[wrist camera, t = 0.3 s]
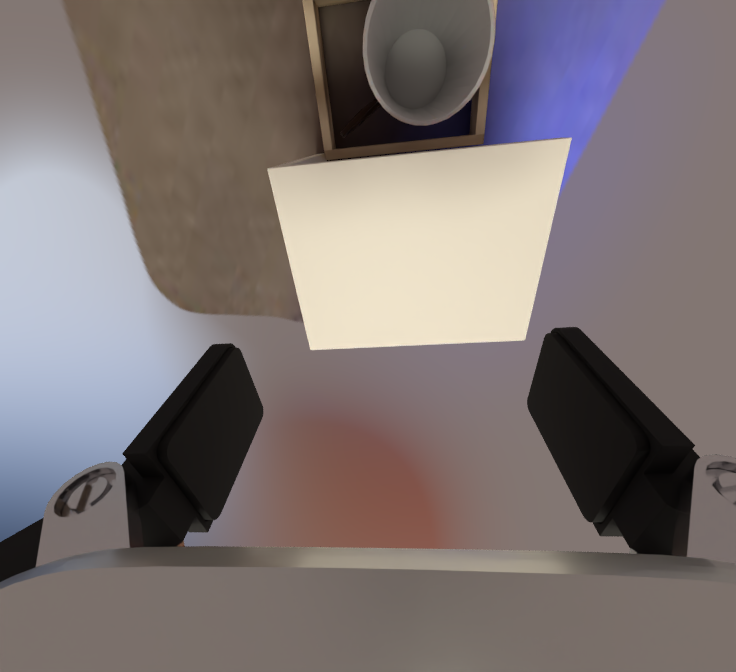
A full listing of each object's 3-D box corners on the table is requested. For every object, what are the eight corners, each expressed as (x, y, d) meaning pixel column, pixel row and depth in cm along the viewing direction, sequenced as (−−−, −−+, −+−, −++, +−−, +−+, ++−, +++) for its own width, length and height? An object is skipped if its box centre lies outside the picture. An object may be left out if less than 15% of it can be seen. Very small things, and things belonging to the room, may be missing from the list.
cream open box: (316, 154, 33) (267, 168, 19) (490, 135, 31) (571, 138, 17) (335, 277, 40) (310, 350, 27) (476, 267, 39) (524, 340, 25)
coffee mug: (460, -10, 26) (496, -79, 17) (465, 115, 30) (495, 108, 22) (327, 34, 27) (301, -10, 19) (350, 145, 32) (338, 149, 24)
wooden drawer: (285, -163, 22) (246, -276, 16) (507, -208, 20) (558, -351, 14) (329, 158, 32) (316, 164, 26) (476, 143, 31) (498, 145, 25)
